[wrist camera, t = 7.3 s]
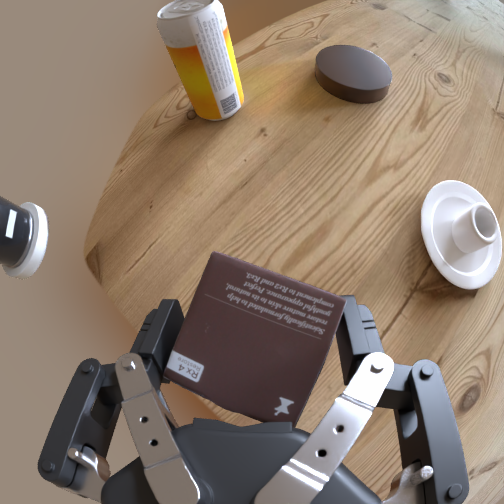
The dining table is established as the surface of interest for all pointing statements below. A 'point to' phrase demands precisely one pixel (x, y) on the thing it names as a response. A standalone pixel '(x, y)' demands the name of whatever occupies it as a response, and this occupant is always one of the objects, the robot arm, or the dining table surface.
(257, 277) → the box
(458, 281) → the candle holder
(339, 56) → the walnut coaster
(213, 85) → the beer can
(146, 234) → the dining table surface
